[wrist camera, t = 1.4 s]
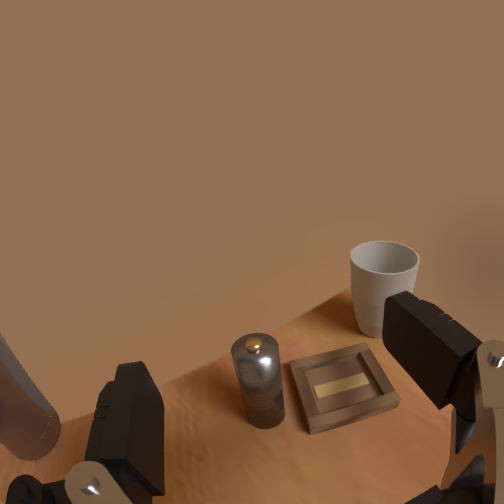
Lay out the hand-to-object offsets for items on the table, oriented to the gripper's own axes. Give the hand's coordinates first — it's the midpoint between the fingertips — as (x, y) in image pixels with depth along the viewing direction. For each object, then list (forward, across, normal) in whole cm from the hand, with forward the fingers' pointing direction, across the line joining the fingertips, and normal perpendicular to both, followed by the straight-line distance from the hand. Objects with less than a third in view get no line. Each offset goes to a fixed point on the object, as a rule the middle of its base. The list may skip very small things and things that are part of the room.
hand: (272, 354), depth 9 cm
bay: (+12, -8, +18) cm, 23 cm away
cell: (+11, 0, +18) cm, 21 cm away
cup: (+19, -16, +18) cm, 31 cm away
